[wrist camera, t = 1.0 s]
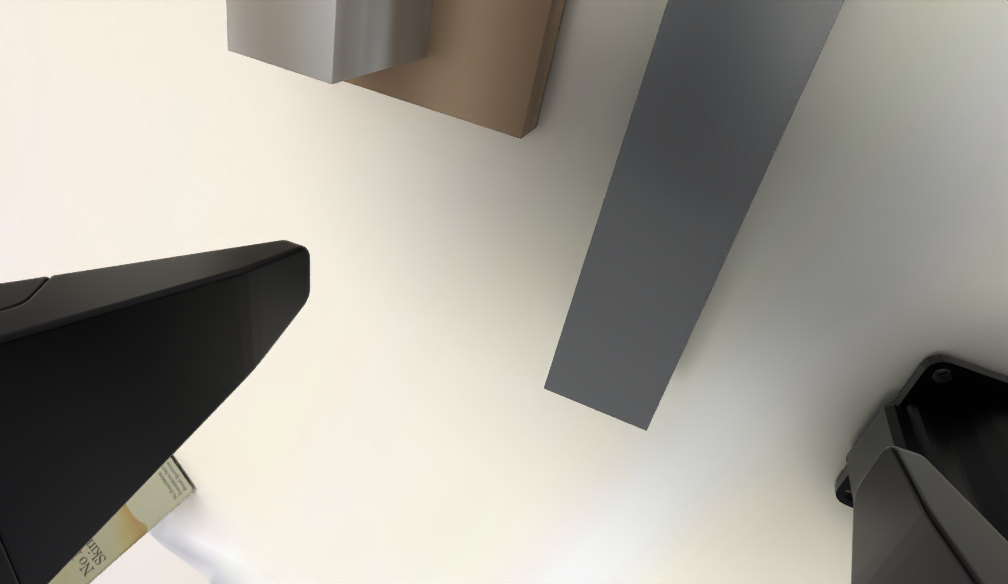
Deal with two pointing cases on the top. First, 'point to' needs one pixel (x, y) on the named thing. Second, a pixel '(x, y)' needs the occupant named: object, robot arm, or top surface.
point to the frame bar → (682, 191)
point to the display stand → (413, 50)
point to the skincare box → (128, 525)
